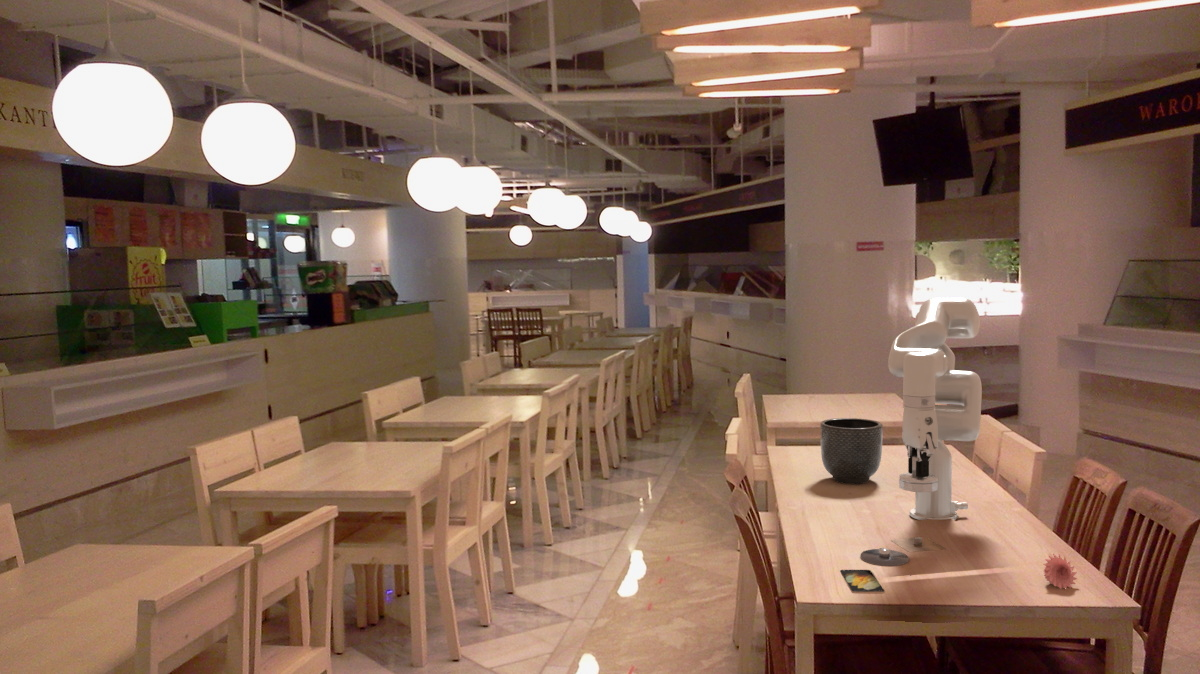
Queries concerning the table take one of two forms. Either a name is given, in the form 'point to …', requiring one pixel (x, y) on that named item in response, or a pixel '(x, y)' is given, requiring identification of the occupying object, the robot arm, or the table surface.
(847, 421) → the planter
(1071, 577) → the flower
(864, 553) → the metal pot lid
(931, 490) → the metal knob with peg
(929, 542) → the stand
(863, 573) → the smartphone
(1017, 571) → the table surface
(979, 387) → the robot arm
